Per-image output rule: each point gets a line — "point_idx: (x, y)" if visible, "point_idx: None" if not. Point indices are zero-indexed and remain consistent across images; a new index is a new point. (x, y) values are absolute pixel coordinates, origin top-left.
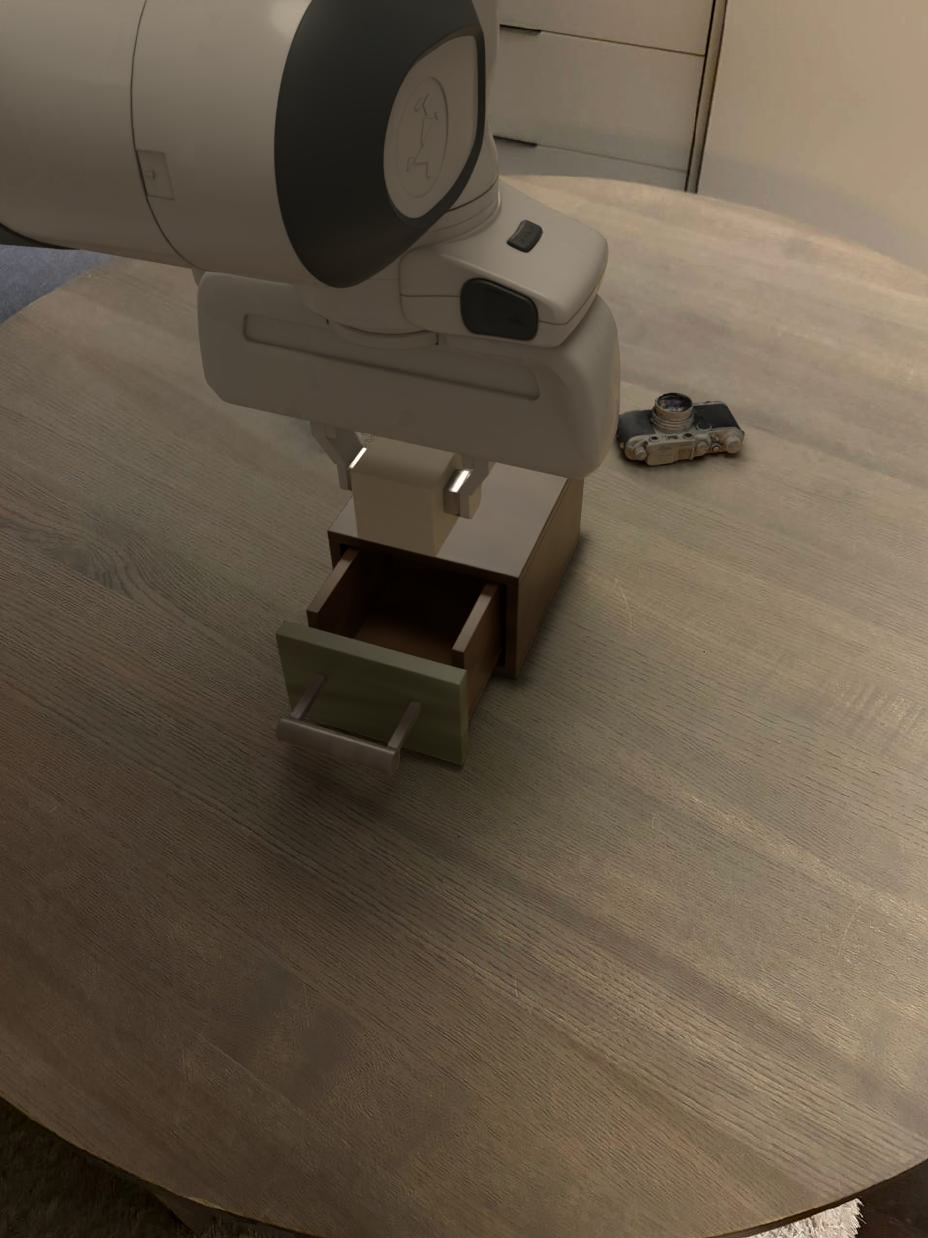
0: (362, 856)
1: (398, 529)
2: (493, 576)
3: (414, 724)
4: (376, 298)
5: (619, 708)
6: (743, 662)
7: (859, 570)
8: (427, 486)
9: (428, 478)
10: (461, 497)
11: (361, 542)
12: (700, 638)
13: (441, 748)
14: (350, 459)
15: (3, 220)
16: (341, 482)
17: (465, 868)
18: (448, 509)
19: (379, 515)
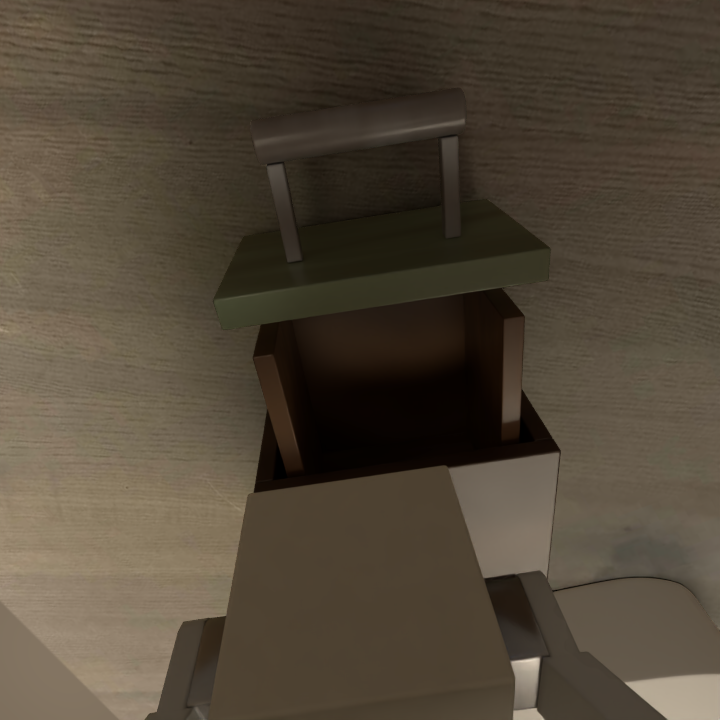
0: (280, 41)
1: (338, 528)
2: (291, 484)
3: (303, 243)
4: None
5: (151, 393)
6: (86, 493)
7: (71, 612)
8: None
9: None
10: (184, 691)
11: (501, 454)
12: (140, 498)
13: (267, 238)
14: (547, 679)
15: None
16: (544, 592)
17: (151, 100)
18: None
19: (393, 549)
